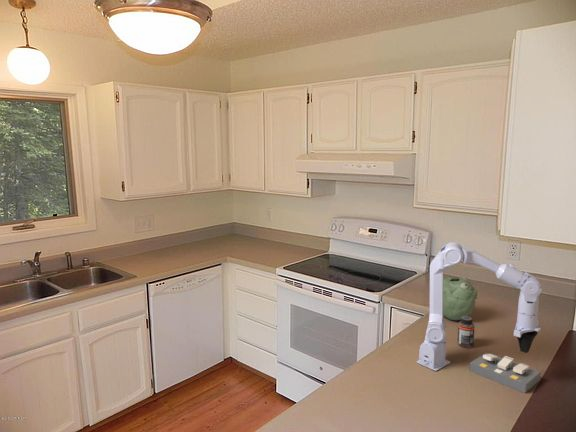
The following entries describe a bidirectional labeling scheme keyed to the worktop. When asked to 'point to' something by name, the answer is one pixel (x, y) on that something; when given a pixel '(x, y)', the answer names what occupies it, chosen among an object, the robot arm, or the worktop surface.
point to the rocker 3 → (520, 368)
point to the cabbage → (458, 298)
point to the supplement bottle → (466, 332)
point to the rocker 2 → (505, 362)
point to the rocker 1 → (490, 357)
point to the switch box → (505, 374)
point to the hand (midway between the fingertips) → (524, 351)
